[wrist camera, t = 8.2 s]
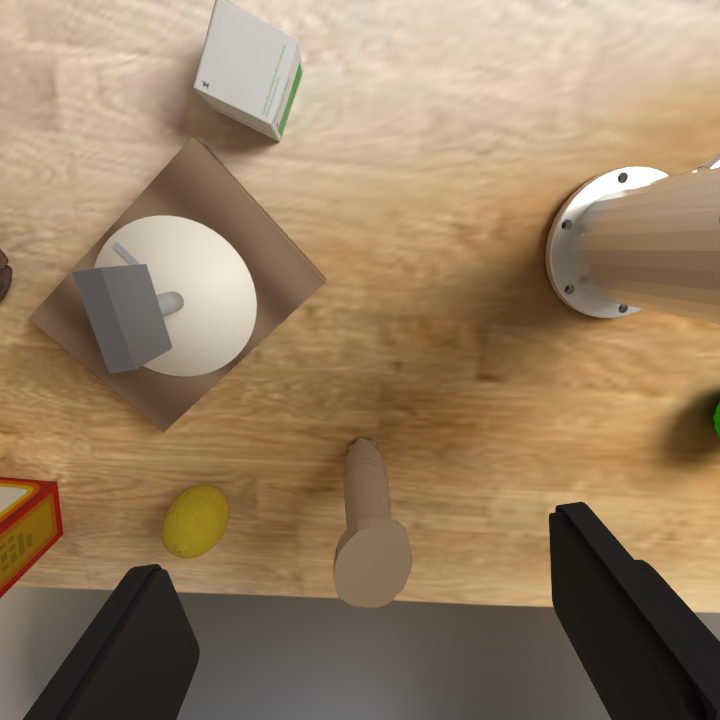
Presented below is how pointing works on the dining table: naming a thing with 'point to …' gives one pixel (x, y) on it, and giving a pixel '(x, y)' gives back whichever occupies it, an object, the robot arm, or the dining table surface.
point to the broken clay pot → (4, 275)
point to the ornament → (717, 420)
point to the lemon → (195, 521)
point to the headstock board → (231, 221)
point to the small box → (249, 70)
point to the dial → (190, 289)
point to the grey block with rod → (126, 314)
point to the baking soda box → (26, 525)
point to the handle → (369, 534)
